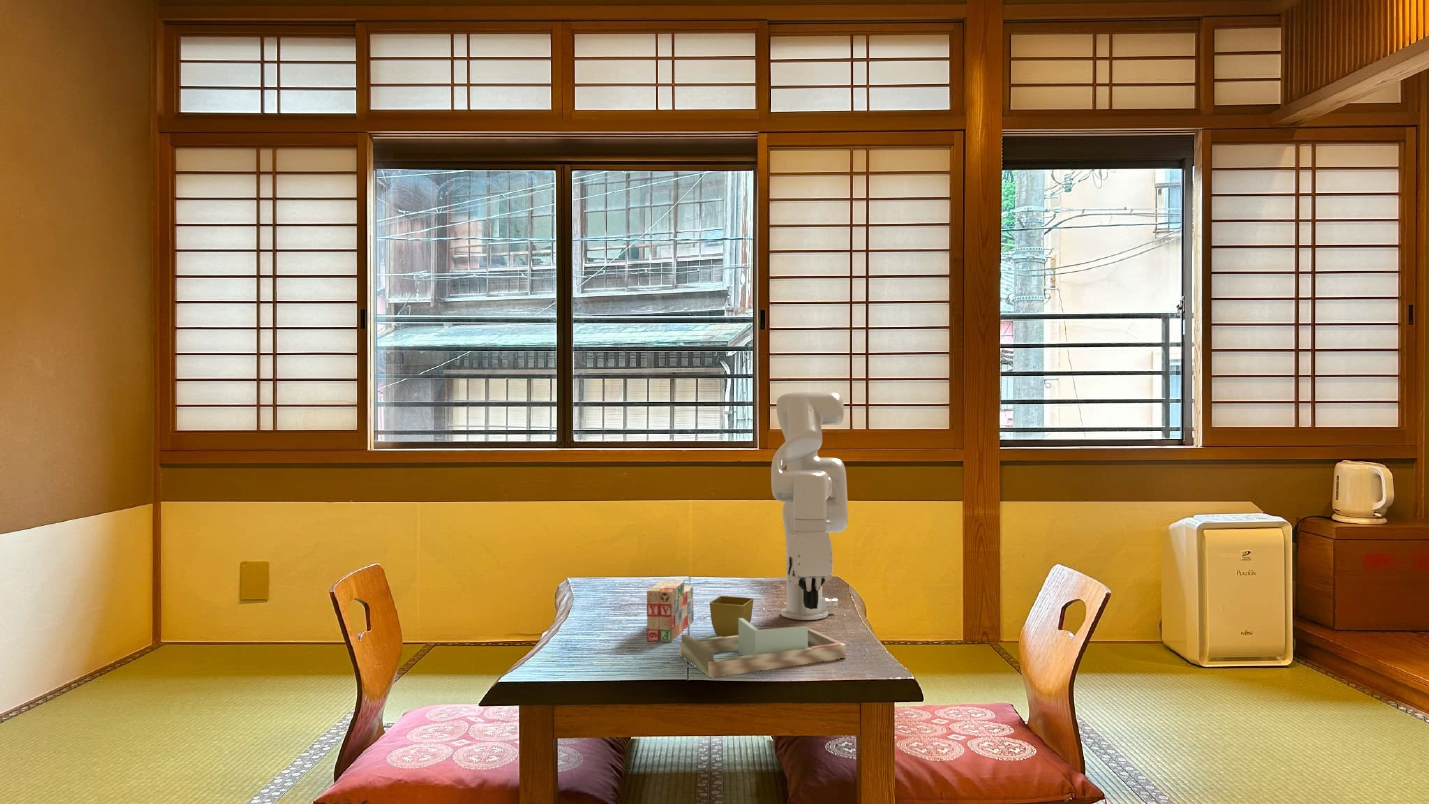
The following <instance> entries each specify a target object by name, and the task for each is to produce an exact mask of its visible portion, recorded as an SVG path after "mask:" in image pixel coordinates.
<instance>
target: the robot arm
mask: <svg viewBox="0 0 1429 804" xmlns="http://www.w3.org/2000/svg"><path fill="white" fill-rule="evenodd" d="M775 405H776V416H777V420H778V423H779V427H780V430H781V432H782V434H783V437H784V443H783V444H781V445H780V447H779V448H778V449H777V450H776V452H775V454H774V455H773V458H772V460H771V462H772V463H771V469H770V470H771V471H770V472H771V475H770V476H771V480H770V482H771V484H770V485H771V493H772V495H773V497H774V499H775V500H777V501H778V502H782V503H783V505H782V522H783V526H784V534H785V556H786V557H785V559H786V560H785V561H786V563H785V564H786V565H785V569H786V572H785V573H786V575H785V576H786V606H785V607H783V608H782V609H781V610H780V614H781V615H780V616H782V617H783V618H785V619H790V620H797V621H813V620H814V621H816V620H823V619H825V618H827V617H828V616H829V610H828V608H829V607H836V606H838V605H839V600H838V598H835V597H834V598H827V597H823V584H824V583H826V582H828V581H831V580H832V579H833V576H832V573H833V572H834V571H833V569H834V558H833V548H832V547H833V546H832V542H831V541H832V540H831V537H830V533H831V534H832V533H842V532H844V531H846V530H847V527H848V524H849V504H848V503H849V501H848V484H847V472H846V467H845V464H844V462H843V461H842V460H841V459H839V458H836V457H819V455H818V450H820V448H821V447H822V444H823V430H822V426H837V425H838V426H839V425H841V424H842V422H843V420H844V416H845V404H844V401H843V399H842V397H841V395H840V394H839V393H837V392H835V391H833V392H830V391H829V392H827V391H825V392H824V391H823V392H818V391H817V392H809V391H808V392H803V391H802V392H790V393H784V394H782V395H780V396H779V397H778V398H777V399H776V404H775ZM785 467H786V469H785V470H783V469H784V468H785Z"/></svg>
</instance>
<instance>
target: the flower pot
mask: <svg viewBox="0 0 1429 804" xmlns="http://www.w3.org/2000/svg"><path fill="white" fill-rule="evenodd" d="M753 607H754V598H753V597H743V596H728V595H719V596H717V597H716V598H714V599H713V600H711V601H710V602H709V610H710V613H709V614H710V620H711V625H712V629H713V631H714V633H715V634H716V637H720V636H722V637H727V636H735V635H739V629H738V618H744V619H745V620H746V621H747V622H749V623H750V624H751V621H752V617H753V616H752V615H753Z"/></svg>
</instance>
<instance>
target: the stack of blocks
mask: <svg viewBox="0 0 1429 804" xmlns="http://www.w3.org/2000/svg"><path fill="white" fill-rule="evenodd" d="M694 609H695V607H694V587H693V585H685V581H684V580H681V581H680V580H660V581H659V582H657V583H656V584H655V585H653V586H652V587H651V588H649V589H647V590H646V623H647V624H646V626H647V627H646V641H647V642H657V641H664V642H663V643H673V641H675V640H676V639H677V638H678V637H679V636H681V635H682V633H683V632H684V631H685V630H686V629H687V628H688V627H689V626H690V625H691V624H692V623H693V622H694V620H695V619H694V615H695V614H694ZM684 629H685V630H684ZM682 631H683V632H682ZM678 635H679V636H678ZM675 638H676V639H675ZM674 639H675V640H674Z"/></svg>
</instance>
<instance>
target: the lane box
mask: <svg viewBox="0 0 1429 804" xmlns="http://www.w3.org/2000/svg"><path fill="white" fill-rule="evenodd" d="M733 651H739V635H735V636H727V637H722V636H720V637H718V636H713V637H706V638H697V639H695V638H694V637H692V636H690V635H688V634H687V633H685V634H684V633H683V634H681V641H680V642H679V656H680V657H681V656H682V657H683V658H685V659H686V660H687V661H686V660H685V659H684V660H685V661H686V662H688V661H689V662H690V663H692V664H693V665H695V666H696V667H697V668H698V669H697V668H696V667H695V666H694V667H695V668H696V669H697V670H699V671H700V670H701V671H700V672H702V673H703V672H704V673H705V674H704V673H703V674H704V675H706V676H707V675H708V676H707V677H709V678H710V677H714V678H719V677H720V676H721V677H724V676H723V675H728V676H735V675H740V674H747V673H746V672H748V673H754V672H760V671H759V670H762V671H767V670H774V669H780V668H781V669H782V668H787V667H788V668H790V667H794V666H801V665H809V663H810V664H817V663H823V662H822V661H824V662H830V661H837V660H836V659H838V660H841V659H840V658H844V659H847V644H846V643H843V642H842V641H839V640H836V639H835V638H832V637H830V636H828V635H826V634H823V633H821V632H820V631H819V632H818V631H816V630H815V629H812V628H810V627H808V648H804V649H797V650H790V651H782V652H775V653H768V654H760V655H746V656H743V655H741V656H739V655H738V656H732V657H723V658H717V659H715V658H714V654H718V653H725V652H733ZM682 657H681V658H682ZM683 658H682V659H683ZM689 662H688V663H689ZM690 663H689V664H690ZM692 664H691V665H692ZM693 665H692V666H693Z"/></svg>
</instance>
